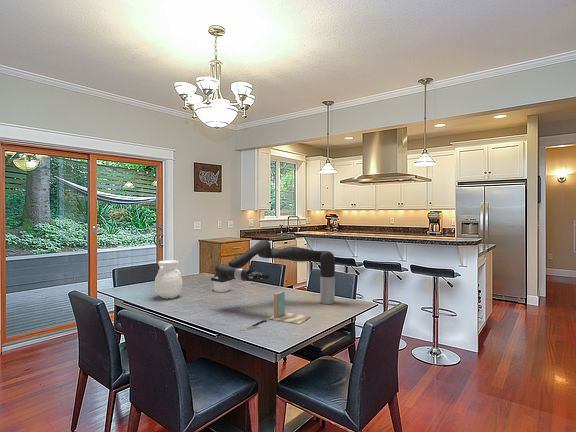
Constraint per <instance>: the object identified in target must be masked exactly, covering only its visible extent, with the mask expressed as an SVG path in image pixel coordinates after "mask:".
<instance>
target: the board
mask: <svg viewBox="0 0 576 432" xmlns="http://www.w3.org/2000/svg"><path fill="white" fill-rule="evenodd" d="M310 318H311V315H304V314H299V313H298V314H297V313H291V312H285V314H284V315H282V316H280V317H278V318H275V317H274V315H272V316H269V317H268V320H269V321H275V322H283V323H289V324H295V325H301V324H302V323H304V322H305V321H307V320H308V319H310Z"/></svg>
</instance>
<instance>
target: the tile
mask: <svg viewBox="0 0 576 432" xmlns="http://www.w3.org/2000/svg"><path fill="white" fill-rule="evenodd" d="M285 293H286V292H285V291H282V290H281V291H278V292H276V293H274V294H273V316H274V317H275V318H278V317H280V316H282V315H284V314H285V313H286V309H285V306H286V305H285V301H286V300H285V299H286V297H285V296H286V295H285Z"/></svg>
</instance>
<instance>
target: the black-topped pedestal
mask: <svg viewBox="0 0 576 432" xmlns="http://www.w3.org/2000/svg"><path fill="white" fill-rule="evenodd" d="M210 281H211V282H213V291H214V292H218V293H225V292H228V291H230V281H233V279H230V278H228V279H227V280H224V281H220V280H219V279H218V277H217V274H216V272H215V273H213V276H212V277H210Z"/></svg>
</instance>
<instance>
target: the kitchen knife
mask: <svg viewBox="0 0 576 432" xmlns="http://www.w3.org/2000/svg"><path fill="white" fill-rule="evenodd" d="M267 322H268V320H266V319H262V320H261V321H259V322H256V323H254V324H252V325H249V326H248V327H246V328H247V330H243V329H244V328H243V329H239V330H238V331H236V333H240V332H245V331H250V330H255V329H260V328H262V327H259V325H261V324H263V323H267ZM239 331H240V332H239Z"/></svg>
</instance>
